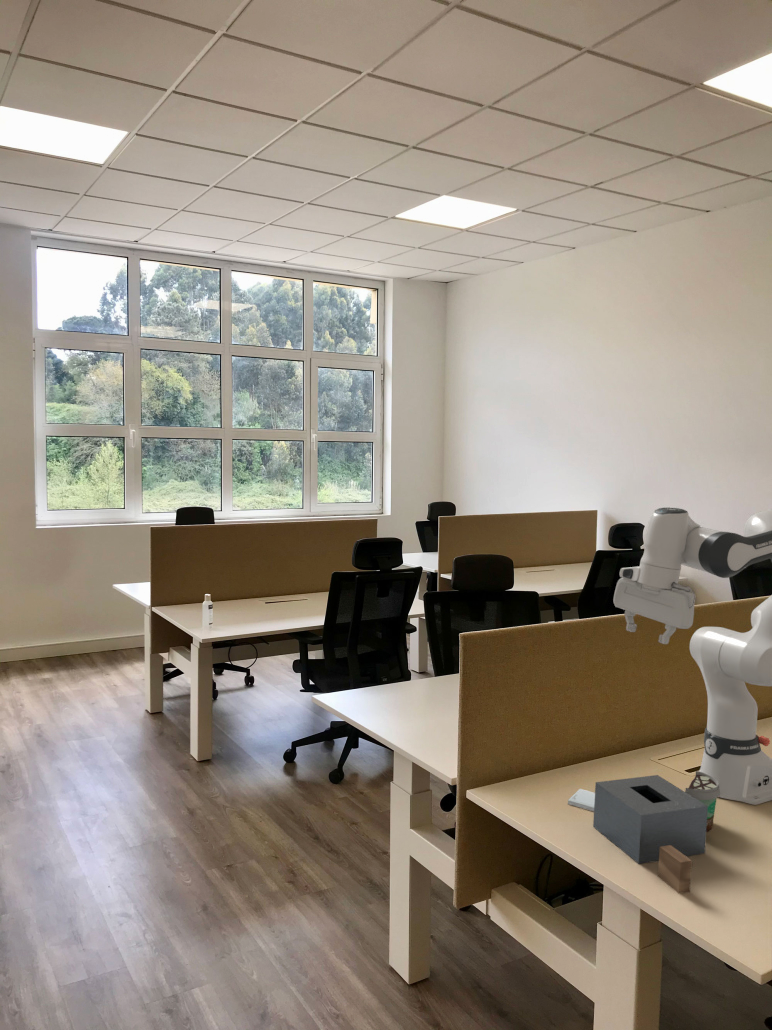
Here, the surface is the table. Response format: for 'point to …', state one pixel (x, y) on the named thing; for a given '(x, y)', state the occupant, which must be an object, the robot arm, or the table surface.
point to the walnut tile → (674, 869)
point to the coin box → (649, 817)
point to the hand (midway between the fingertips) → (646, 637)
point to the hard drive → (583, 799)
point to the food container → (705, 794)
